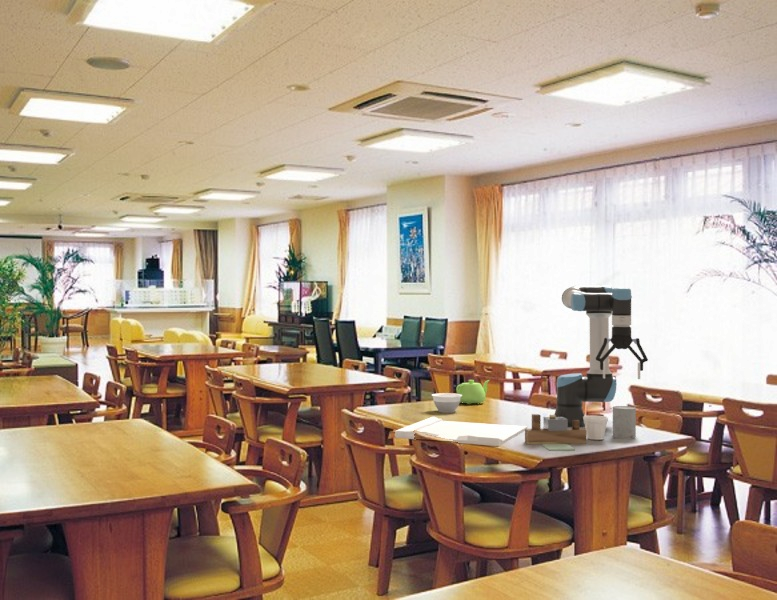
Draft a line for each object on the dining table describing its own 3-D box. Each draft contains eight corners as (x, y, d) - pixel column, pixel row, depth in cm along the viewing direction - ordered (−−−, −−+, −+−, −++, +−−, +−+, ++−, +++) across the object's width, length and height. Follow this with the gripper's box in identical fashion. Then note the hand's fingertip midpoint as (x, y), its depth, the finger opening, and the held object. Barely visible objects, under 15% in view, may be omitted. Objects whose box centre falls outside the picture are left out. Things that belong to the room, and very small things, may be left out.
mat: (542, 445, 316) (542, 444, 316) (567, 445, 317) (567, 443, 317) (549, 450, 306) (549, 449, 306) (574, 450, 307) (574, 448, 307)
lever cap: (543, 427, 326) (543, 414, 326) (562, 427, 326) (562, 413, 326) (548, 430, 319) (548, 416, 319) (567, 430, 319) (567, 416, 319)
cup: (607, 442, 325) (607, 419, 325) (582, 440, 328) (582, 418, 328) (608, 437, 334) (608, 415, 334) (584, 436, 337) (584, 414, 337)
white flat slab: (527, 430, 357) (527, 422, 357) (499, 447, 316) (499, 438, 316) (433, 423, 375) (433, 416, 375) (395, 439, 334) (395, 430, 334)
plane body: (524, 442, 324) (524, 413, 324) (582, 441, 326) (582, 413, 326) (527, 444, 319) (527, 415, 319) (586, 443, 321) (586, 415, 321)
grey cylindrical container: (637, 438, 332) (637, 409, 332) (613, 438, 334) (613, 408, 334) (634, 435, 342) (634, 406, 341) (611, 434, 343) (611, 405, 343)
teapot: (483, 400, 455) (483, 377, 455) (497, 403, 442) (497, 380, 442) (449, 402, 446) (449, 379, 446) (462, 406, 433) (462, 381, 433)
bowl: (468, 411, 411) (468, 395, 411) (446, 414, 401) (446, 397, 401) (447, 408, 423) (447, 392, 423) (425, 411, 413) (425, 394, 413)
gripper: (590, 326, 321) (589, 378, 321) (654, 326, 316) (654, 380, 316) (589, 325, 328) (589, 376, 328) (652, 326, 323) (652, 378, 323)
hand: (621, 378), depth 322 cm, fingers open, 13 cm apart
